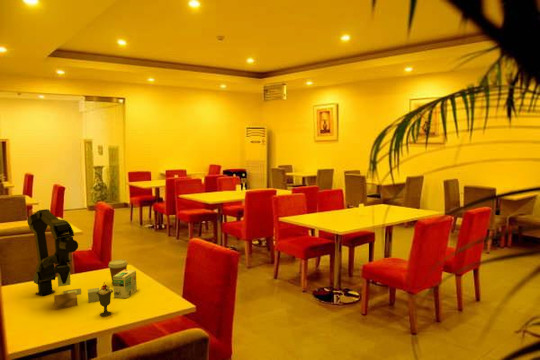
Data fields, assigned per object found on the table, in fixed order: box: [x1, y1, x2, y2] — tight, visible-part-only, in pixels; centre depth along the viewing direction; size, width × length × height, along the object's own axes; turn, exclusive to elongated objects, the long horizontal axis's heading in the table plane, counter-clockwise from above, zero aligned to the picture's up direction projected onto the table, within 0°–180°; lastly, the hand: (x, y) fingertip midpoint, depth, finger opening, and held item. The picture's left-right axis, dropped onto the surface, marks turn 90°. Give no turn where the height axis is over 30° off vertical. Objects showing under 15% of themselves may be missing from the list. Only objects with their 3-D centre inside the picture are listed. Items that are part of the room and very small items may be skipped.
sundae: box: [96, 282, 114, 318], centre depth 179 cm, size 7×7×15 cm
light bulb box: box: [112, 269, 138, 299], centre depth 203 cm, size 11×7×11 cm, turn 168°
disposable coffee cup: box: [108, 259, 129, 284], centre depth 217 cm, size 10×10×12 cm
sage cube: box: [56, 271, 71, 288], centre depth 191 cm, size 5×5×5 cm
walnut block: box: [53, 292, 79, 310], centre depth 192 cm, size 9×9×4 cm
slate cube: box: [87, 287, 100, 304], centre depth 196 cm, size 5×5×5 cm
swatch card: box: [62, 288, 82, 296], centre depth 206 cm, size 8×8×1 cm
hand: (64, 281), depth 191 cm, fingers closed on sage cube, 5 cm apart
